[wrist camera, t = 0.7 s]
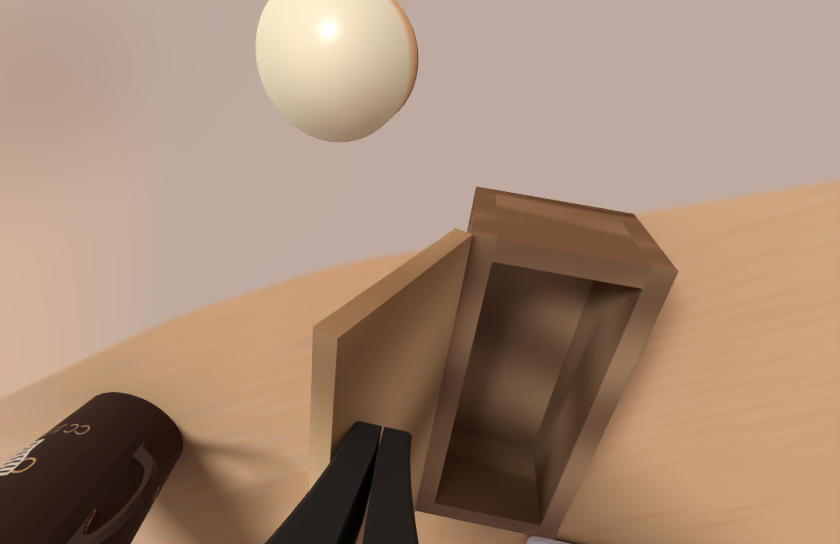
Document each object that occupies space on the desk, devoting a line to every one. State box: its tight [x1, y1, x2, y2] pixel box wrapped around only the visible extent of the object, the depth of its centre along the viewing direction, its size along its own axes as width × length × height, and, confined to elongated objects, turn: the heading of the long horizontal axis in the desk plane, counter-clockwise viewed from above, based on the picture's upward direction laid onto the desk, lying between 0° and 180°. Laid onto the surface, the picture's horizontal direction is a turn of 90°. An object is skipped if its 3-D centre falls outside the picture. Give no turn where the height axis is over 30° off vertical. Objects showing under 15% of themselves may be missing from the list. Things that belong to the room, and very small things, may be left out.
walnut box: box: [415, 187, 678, 540], centre depth 20 cm, size 14×6×5 cm, turn 172°
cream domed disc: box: [256, 0, 418, 142], centre depth 16 cm, size 5×5×2 cm
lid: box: [309, 229, 473, 544], centre depth 15 cm, size 14×7×1 cm
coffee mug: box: [0, 392, 183, 544], centre depth 24 cm, size 12×9×10 cm
